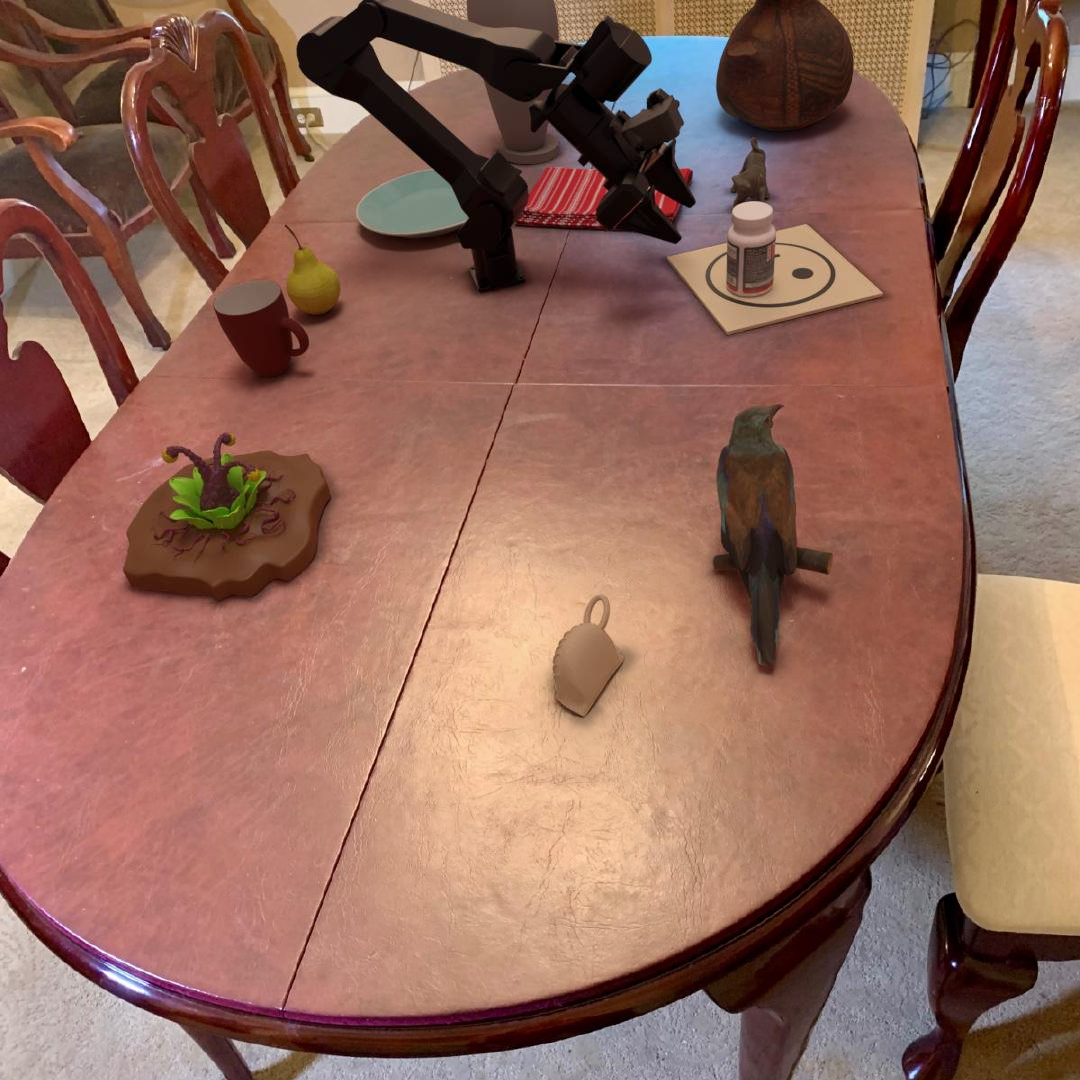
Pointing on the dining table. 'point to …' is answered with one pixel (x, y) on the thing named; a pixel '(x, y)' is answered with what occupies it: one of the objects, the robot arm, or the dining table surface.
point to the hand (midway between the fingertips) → (686, 222)
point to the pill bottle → (751, 249)
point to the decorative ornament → (585, 661)
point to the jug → (785, 65)
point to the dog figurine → (751, 176)
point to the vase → (503, 6)
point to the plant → (227, 523)
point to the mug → (260, 326)
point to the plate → (412, 207)
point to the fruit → (312, 282)
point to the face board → (776, 282)
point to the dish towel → (577, 199)
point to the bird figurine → (761, 522)
